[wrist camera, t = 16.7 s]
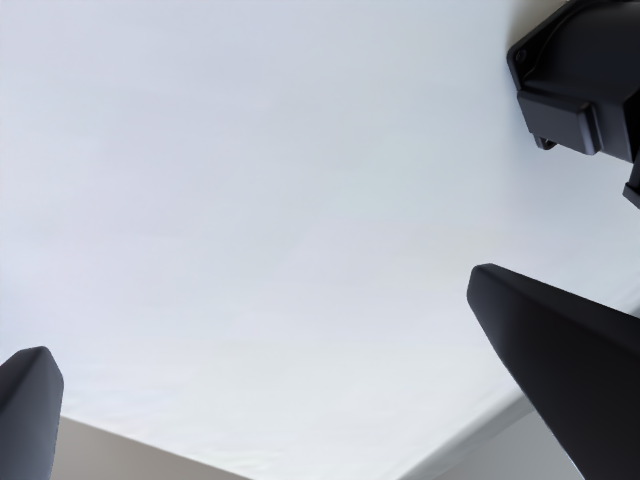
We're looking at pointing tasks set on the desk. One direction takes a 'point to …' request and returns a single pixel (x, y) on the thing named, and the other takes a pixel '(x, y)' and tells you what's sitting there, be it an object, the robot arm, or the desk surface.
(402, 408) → the desk surface
